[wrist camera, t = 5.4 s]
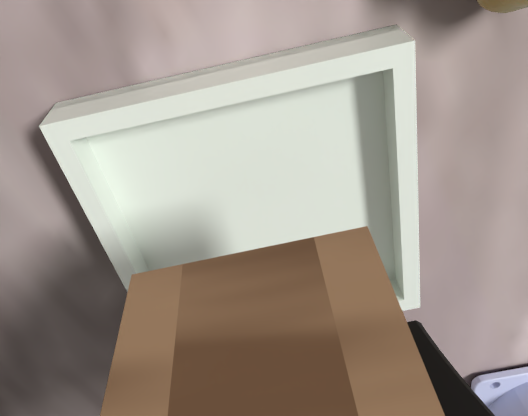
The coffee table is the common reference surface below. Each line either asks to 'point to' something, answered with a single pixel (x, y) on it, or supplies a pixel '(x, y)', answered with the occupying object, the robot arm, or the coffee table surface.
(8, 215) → the coffee table surface
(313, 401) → the brown framed cube
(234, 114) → the tray
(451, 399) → the robot arm
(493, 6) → the pastry
